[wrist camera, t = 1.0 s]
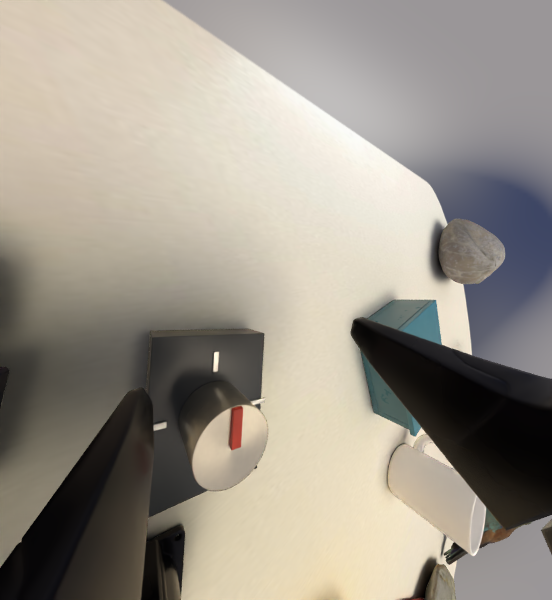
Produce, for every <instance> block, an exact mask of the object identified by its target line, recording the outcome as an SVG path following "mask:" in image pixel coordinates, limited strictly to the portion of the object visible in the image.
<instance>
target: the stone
mask: <svg viewBox="0 0 552 600" xmlns="http://www.w3.org/2000/svg"><path fill="white" fill-rule="evenodd" d="M425 600H456V596H455V586H454V580H453V578H452V576H451V574H450V573H449V571H448V569H447V568H446V566H445V565H444V564H443V565H439V564H437V565H436V566H435V568H434V570H433V573H432V575H431V578H430V581H429V583H428V585H427V587H426V592H425Z"/></svg>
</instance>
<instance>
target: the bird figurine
mask: <svg viewBox="0 0 552 600" xmlns="http://www.w3.org/2000/svg"><path fill="white" fill-rule="evenodd" d="M530 523H531V522H530ZM530 523H527V524H530ZM527 524H524V525H527ZM521 526H522V525H521ZM521 526H518V527H521ZM518 527H516V528H518ZM516 528H513V529H510V530H507V531H506V530H505V529H504V528H503V527H502V526H501V525H500V524H499V522H498V521H497V520H496V519H495V518H494V516H493V515H492V514H491V513H490V511H489V510H488V509H487V508H486V515H485V524H484V530H483V535H482V539H481V543H480V546H479V548H482V547H484V546H486V545H487V544H489V543H495V542H498V541H500V540H503V539H505V538H507V537H509V536H510V534H511V533H512V532H513V531H514V530H515V529H516ZM449 553H450V554H449ZM467 553H468V552H467V551H465V550H464V549H463V548H461V547H460V546H459V545H458V544H456V543H455V542H454V543H453V545H452V546H451V549H450V550H448V551H447V552H445V553H444V556H445V555H447V554H448V555H447V556H446V557H445V558H447V559H446V562H447V564H449V565H450V564H452V563H453V562H455V561H456V560H458V559H459V558H461V557H462V556H464V555H465V554H467ZM450 555H451V556H450ZM449 556H450V557H449ZM448 557H449V558H448Z"/></svg>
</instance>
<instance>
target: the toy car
mask: <svg viewBox="0 0 552 600" xmlns="http://www.w3.org/2000/svg"><path fill="white" fill-rule="evenodd" d="M9 371H10V370H9V369H8V368H7V367H0V407H1V403H2V399H3V395H4V391H5V387H6V383H7V379H8V375H9Z"/></svg>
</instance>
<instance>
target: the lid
mask: <svg viewBox="0 0 552 600" xmlns="http://www.w3.org/2000/svg"><path fill="white" fill-rule="evenodd" d="M398 330H400V331H403V332H406V333H409V334H412V335H415V336H417V337H420V338H423V339H426V340H429V341H432V342H435V343H437V344H440V345H442V343H441V335H440V327H439V320H438V312H437V304H436V300H431V301H430V302H429V303H427V304H426V305H425V306H424V307H423V308H422V309H421V310H420V311H418V312H417V313H416V314H415V315H414V316H413V317H412V318H410V319H409V320H408V321H407V322H406V323H405V324H404V325H403V326H401V327H400V328H399V329H398ZM406 412H407V417H408V423H409V429H410V434H411V435H413V436H416V435H417V433H418V431H419V430H420V428H421V426H420V425H419V424H418V422H417V421H416V420H415V419H414V417H413V416H412V415H411V414H410V413H409V411H408V410H407V409H406Z"/></svg>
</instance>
